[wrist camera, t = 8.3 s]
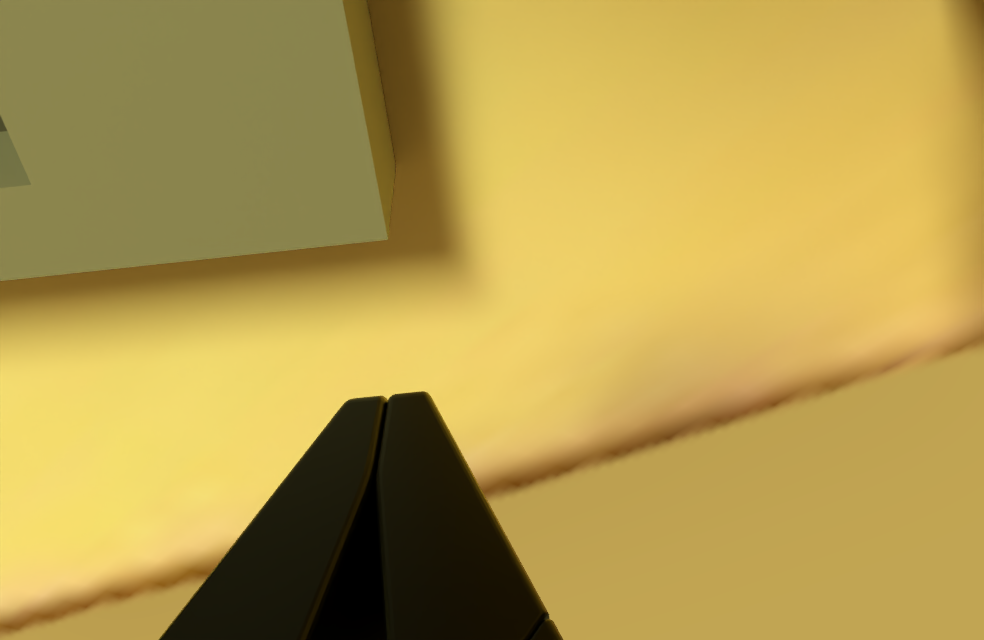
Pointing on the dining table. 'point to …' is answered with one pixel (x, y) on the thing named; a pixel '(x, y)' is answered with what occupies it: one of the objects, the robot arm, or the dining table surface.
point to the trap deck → (187, 131)
